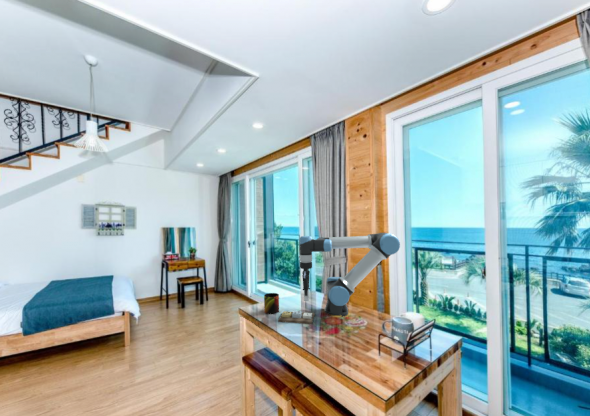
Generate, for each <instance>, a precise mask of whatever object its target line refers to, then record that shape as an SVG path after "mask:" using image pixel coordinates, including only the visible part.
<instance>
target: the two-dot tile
mask: <svg viewBox="0 0 590 416" xmlns="http://www.w3.org/2000/svg"><path fill="white" fill-rule="evenodd" d="M292 312H293V313H292V318H301V317H302V312H303V311H300V310H293V311H292Z"/></svg>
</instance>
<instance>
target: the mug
mask: <svg viewBox="0 0 590 416" xmlns="http://www.w3.org/2000/svg"><path fill="white" fill-rule="evenodd" d="M263 298H264V299H263V303H264V306H263V307H264V308H263V309H264V314H265V315H276V314H278V313H280V295H279V293H276V292H269V293H266V294H264V295H263Z"/></svg>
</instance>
